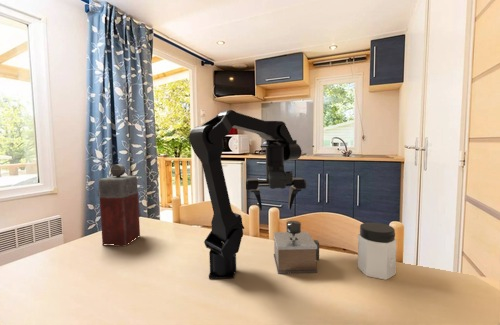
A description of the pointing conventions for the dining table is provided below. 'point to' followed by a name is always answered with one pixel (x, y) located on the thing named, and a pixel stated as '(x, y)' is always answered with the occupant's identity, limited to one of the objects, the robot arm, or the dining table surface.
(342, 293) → the dining table surface
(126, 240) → the red canister
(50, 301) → the dining table surface
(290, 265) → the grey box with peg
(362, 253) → the jar
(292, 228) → the plunger
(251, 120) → the robot arm
